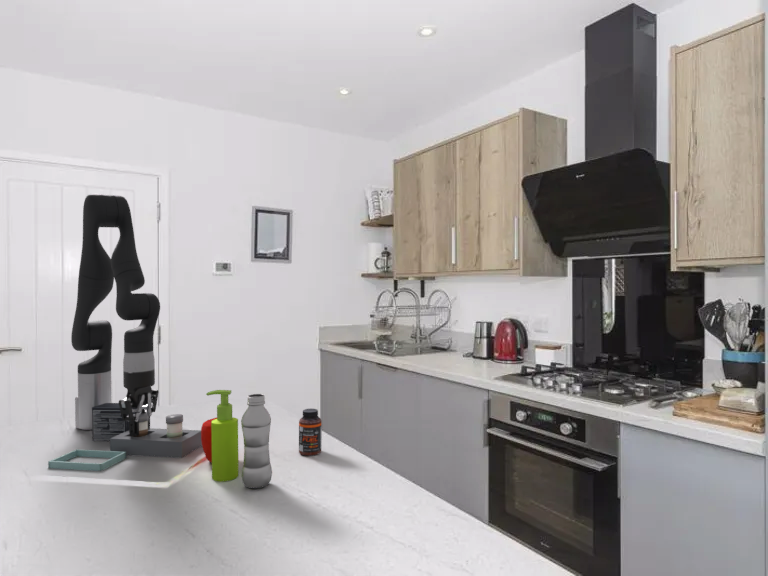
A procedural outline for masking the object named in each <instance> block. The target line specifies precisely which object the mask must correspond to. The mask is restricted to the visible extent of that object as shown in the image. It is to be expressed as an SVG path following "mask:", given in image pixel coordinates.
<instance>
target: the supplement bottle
mask: <svg viewBox="0 0 768 576" xmlns="http://www.w3.org/2000/svg"><path fill="white" fill-rule="evenodd" d="M322 425H323V424H322V419H321V418H320V416H319V410H318V409H317V408H305V409H303V410H302V417H301V418H300V419H299V420H298V454H300V455H301V456H305V457H313V456H317V455H319V454H320V453H322V440H323V439H322V435H323V434H322V430H323V429H322V428H323V427H322Z"/></svg>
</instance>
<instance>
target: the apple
mask: <svg viewBox="0 0 768 576" xmlns="http://www.w3.org/2000/svg"><path fill="white" fill-rule="evenodd" d="M214 419H217V417H214V418H211V419H207V420H205V421H204V422H202V426H201V428H200V430H201V442H202V446H201V447H202V449H203V452H204V456H205V458H206V460H207V461H208V463H209V462H210V463H211V464H212V431H211V422H212V420H214Z"/></svg>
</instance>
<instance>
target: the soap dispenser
mask: <svg viewBox="0 0 768 576" xmlns="http://www.w3.org/2000/svg"><path fill="white" fill-rule="evenodd" d="M231 394H232V390H231V389H230V390H229V389H215V390H211V391H208V392H207V393H206V394H205V395H206V396H212V395H220V403H219V404H218V405H217V406H216V418H217V419H214V420H212V422H211V431H212V463H211V479H212V480H213V481H215V482H218V483H219V482H222V483H224V482H229V481H230V482H231V481H233V480H235V479H237V478H238V477H239V473H240V472H239V419H238V418H237V417H234V416H233V404H232V403H229V396H230V395H231Z"/></svg>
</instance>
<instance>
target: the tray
mask: <svg viewBox="0 0 768 576" xmlns="http://www.w3.org/2000/svg"><path fill="white" fill-rule="evenodd" d="M76 457H89V458H105V459H107V458H108V459H107V460H105V461H103V462H101V463H99V462H98V463H96V462H82V461H81V462H79V461H77V462H76V461H69V460H72V459H74V458H76ZM125 459H127V455H126V452H119V451H110V450H99V449H98V450H97V449H95V450H94V449H79V448H77V449H73V450H72V451H69V452H67V453H65V454H63V455H60V456H58V457H56V458H54V459H53V458H52V459H51V460H49V461H48V464H47V465H48V469H59V470H60V469H61V470H63V469H65V470H75V471H76V470H77V471H78V470H79V471H96V472H97V471H98V472H102V471H104V470H106V469H108V468H109V467H111V466H113V465H115V464H118V463H119V462H121V461H124V460H125Z"/></svg>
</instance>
